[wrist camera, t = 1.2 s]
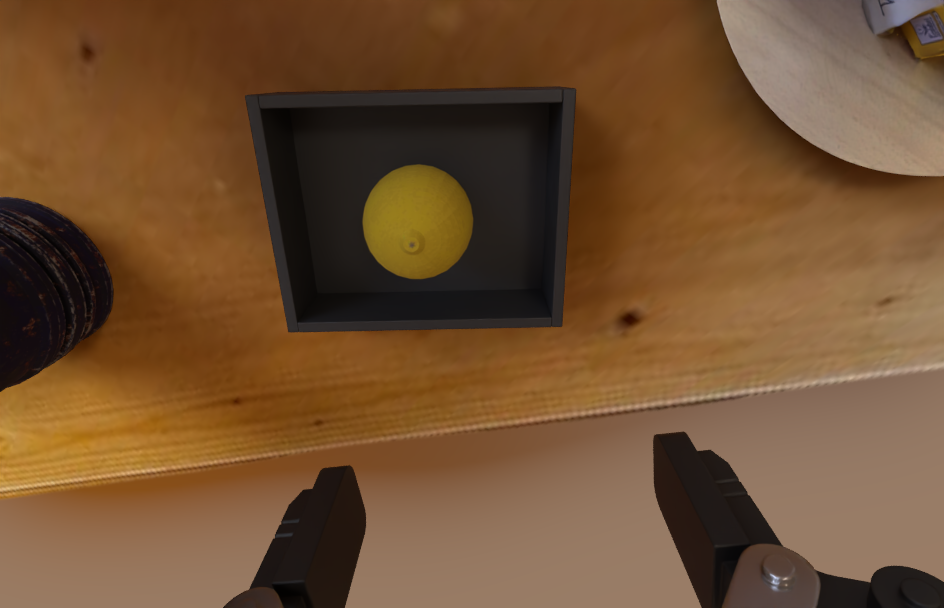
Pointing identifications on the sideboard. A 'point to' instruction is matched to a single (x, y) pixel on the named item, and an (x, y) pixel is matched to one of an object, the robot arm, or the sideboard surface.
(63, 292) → the storage jar
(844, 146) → the plate of stacked packets
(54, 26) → the sideboard surface
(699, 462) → the robot arm
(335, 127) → the bin
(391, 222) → the lemon
